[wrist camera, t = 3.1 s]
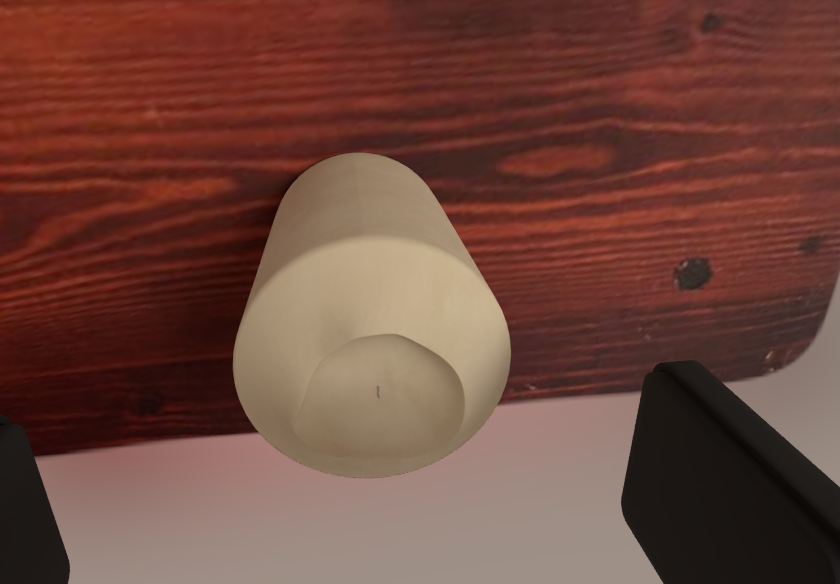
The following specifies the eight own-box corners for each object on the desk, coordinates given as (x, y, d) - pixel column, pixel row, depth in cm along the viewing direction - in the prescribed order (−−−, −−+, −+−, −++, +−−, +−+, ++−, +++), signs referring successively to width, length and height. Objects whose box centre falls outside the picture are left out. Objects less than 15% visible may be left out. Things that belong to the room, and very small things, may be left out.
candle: (287, 316, 20) (248, 549, 11) (262, 156, 18) (187, 286, 9) (444, 301, 21) (528, 511, 12) (439, 144, 18) (539, 254, 9)
